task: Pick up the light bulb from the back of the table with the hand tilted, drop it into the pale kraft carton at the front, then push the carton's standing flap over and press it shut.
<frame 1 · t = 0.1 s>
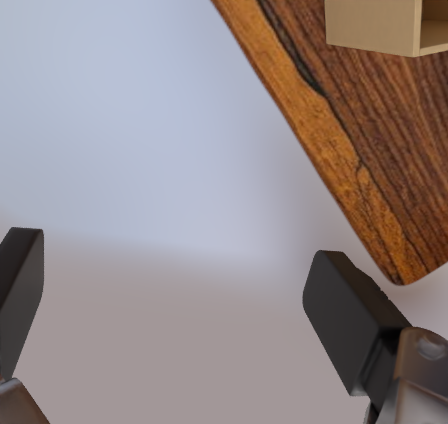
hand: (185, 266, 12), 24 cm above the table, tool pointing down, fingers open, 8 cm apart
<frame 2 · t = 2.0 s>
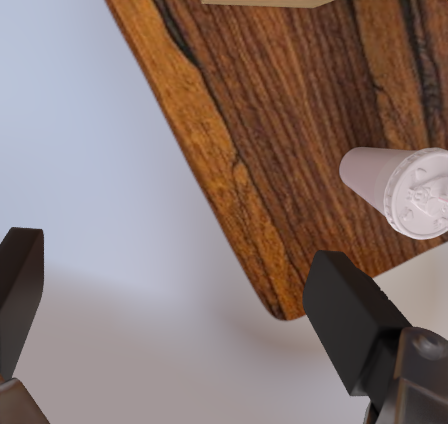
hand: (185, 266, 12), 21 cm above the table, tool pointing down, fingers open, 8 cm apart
smoothie: (356, 166, 37), on the table
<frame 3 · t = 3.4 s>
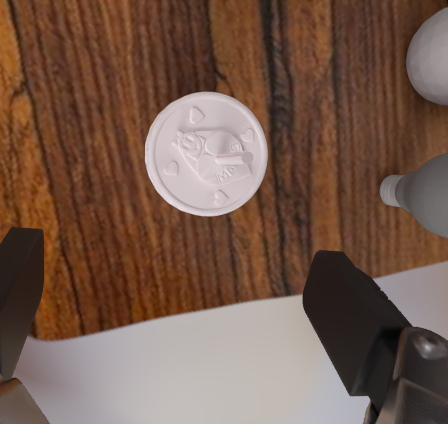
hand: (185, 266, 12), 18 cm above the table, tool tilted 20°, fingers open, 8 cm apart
light bulb: (387, 190, 35), on the table
perfume bottle: (415, 59, 34), on the table
smoothie: (179, 158, 30), on the table
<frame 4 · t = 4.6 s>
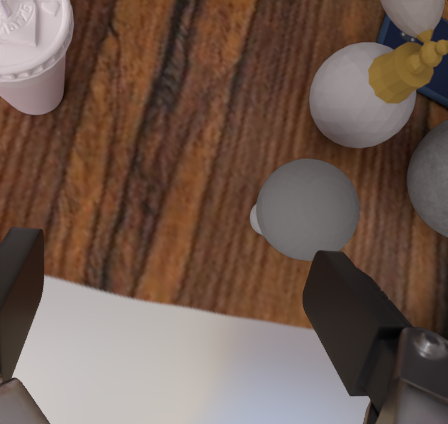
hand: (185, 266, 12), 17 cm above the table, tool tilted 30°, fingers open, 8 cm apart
decorative ball: (427, 187, 35), on the table
light bulb: (262, 218, 31), on the table
perfume bottle: (326, 101, 33), on the table
smoothie: (34, 88, 27), on the table
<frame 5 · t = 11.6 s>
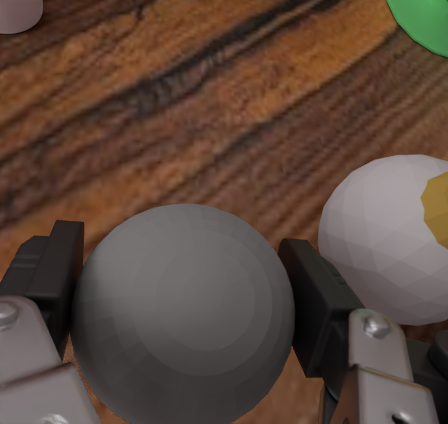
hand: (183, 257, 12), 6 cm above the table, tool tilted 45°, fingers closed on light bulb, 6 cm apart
cup: (437, 11, 30), on the table
light bulb: (159, 329, 18), on the table, touching gripper
perfume bottle: (355, 236, 22), on the table
smoothie: (5, 8, 21), on the table
when the fingers open (17 cm above the table, at t = 20.0 s): light bulb drops 10 cm, resting on carton.
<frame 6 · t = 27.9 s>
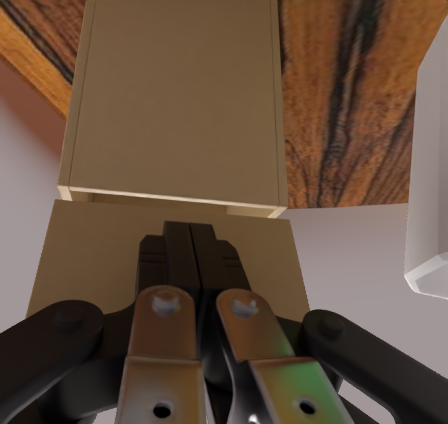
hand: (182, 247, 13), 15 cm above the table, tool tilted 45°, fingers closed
flap: (179, 263, 14), point 15 cm above the table, hinge at 109.7°, touching gripper
carton: (177, 29, 24), on the table
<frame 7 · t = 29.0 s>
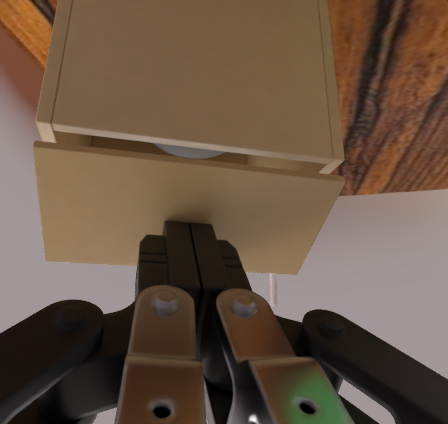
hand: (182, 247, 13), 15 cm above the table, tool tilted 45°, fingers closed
flap: (189, 219, 13), point 14 cm above the table, hinge at 27.5°, touching gripper
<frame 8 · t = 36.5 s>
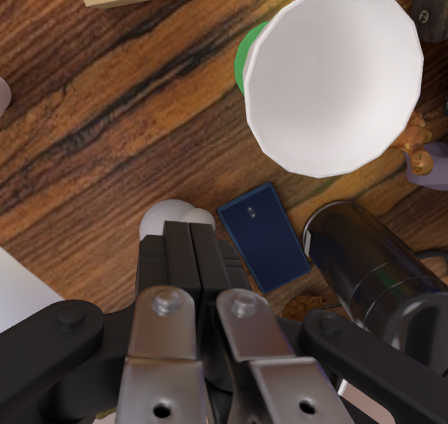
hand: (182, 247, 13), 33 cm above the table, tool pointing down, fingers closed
cup: (274, 65, 43), on the table
smartphone: (287, 283, 56), on the table
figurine: (412, 155, 51), on the table, touching figurine 2
stone tool: (150, 342, 58), on the table, touching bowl
perfume bottle: (171, 209, 49), on the table
leaf: (302, 306, 59), on the table
figurine 2: (388, 80, 45), point 1 cm above the table, touching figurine
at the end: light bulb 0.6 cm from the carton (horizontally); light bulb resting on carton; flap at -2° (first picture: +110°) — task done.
